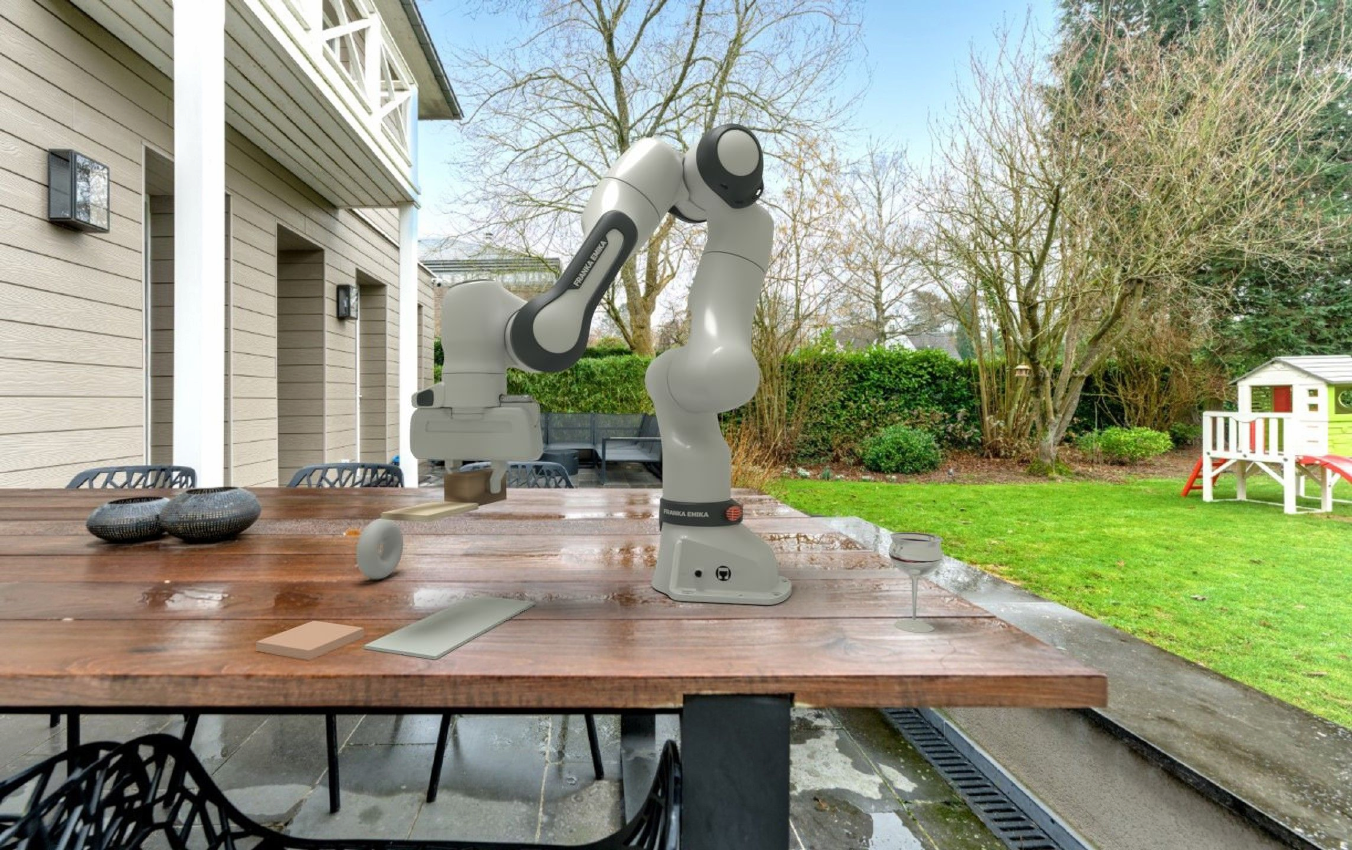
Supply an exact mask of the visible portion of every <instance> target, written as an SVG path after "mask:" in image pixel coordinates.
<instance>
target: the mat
mask: <svg viewBox="0 0 1352 850" xmlns="http://www.w3.org/2000/svg"><path fill="white" fill-rule="evenodd" d="M533 605H534V606H535V605H536V602H535V601H530V600H529V601H528V600H519V599H513V598H505V597H504V598H502V597H495V596H484V595H473V596H471V597H468V598H466V599H464V600H462V601H460V602H457V603H455V604H453V605H451V606H449V607H446V608H444V609H442V610H440V611H437V612H435V613H433V614H431V615H429V616H427V617H424V618H422V619H419V620H418V621H415V622H413V623H411V624H409V625H406V626H404V627H402V628H399V629H398V630H395V631H393V632H391V633H388V634H386V635H384V636H381V637H380V638H378V639H375V640H373V641H370V642H368V643H365V645H364V646H363V649H364V650H369V651H377V652H384V653H389V654H395V655H396V654H397V655H402V654H403V656H408V657H414V658H415V657H416V658H424V659H429V660H435V661H436V660H438V659H440V658H441V657H444V656H445V655H447V654H449V653H451V652H452V651H454V650H456V649H458V648H459V647H462V646H463V645H465V644H467V643H468V641H469V642H470V641H472V640H474V639H476V638H477V636H478V637H480V636H481V635H483V634H484V633H485V634H486V633H487V632H488V631H490V630H492V629H494V628H496V627H497V626H499V625H501V624H503V623H505V622H507V621H508V620H510V619H512V618H514V617H516V616H517V615H519V614H521V613H523V612H525V611H526V610H528V609H530V608H532V607H534V606H533ZM524 610H525V611H524ZM522 611H523V612H522ZM520 612H521V613H520ZM515 615H516V616H515ZM513 616H514V617H513ZM511 617H512V618H511ZM506 620H507V621H506ZM504 621H505V622H504ZM486 631H487V632H486ZM475 637H476V638H475ZM473 638H474V639H473ZM457 647H458V648H457Z"/></svg>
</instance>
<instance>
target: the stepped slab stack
mask: <svg viewBox="0 0 1352 850" xmlns="http://www.w3.org/2000/svg"><path fill="white" fill-rule="evenodd" d="M493 471H494V469H491V468H484V467H483V468H478V469H470V470H466V471H465V470H464V471H461V472H458V473H452V474H448V473H447V474H443V496H444V497H443V498H444V499H443V501H439V500H438V501H437V500H434V501H430V502H425V503H421V504H415V505H412V506H406V507H403V508H397V509H391V510H389V511H383V512H381V513H380V514H381V515H380V516H381V517H380V518H381V519H386V520H392V521H404V522H406V521H407V522H420V523H430V522H434V521H438V520H441V519H445V518H451V517H453V516H457V515H461V514H465V513H469V512H473V511H477V510H479V507H482V506H485V505H486V506H487V505H489V504H493V503H497V502H501V501H505V500H507V499H508V498H507V496H508V495H507V471H506V472H505V474H504V476H503V477H502V479H501V490H500V492H499V493H486V492H485V481H486V480H490V478H491V476H492V474H493Z"/></svg>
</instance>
